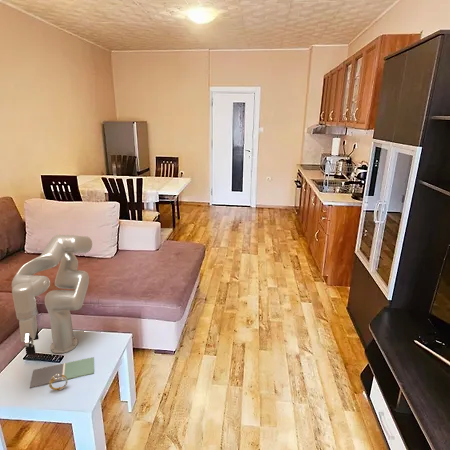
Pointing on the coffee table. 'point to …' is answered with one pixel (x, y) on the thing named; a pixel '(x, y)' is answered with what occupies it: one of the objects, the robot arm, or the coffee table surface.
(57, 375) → the ring
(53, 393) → the coffee table surface
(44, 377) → the board
